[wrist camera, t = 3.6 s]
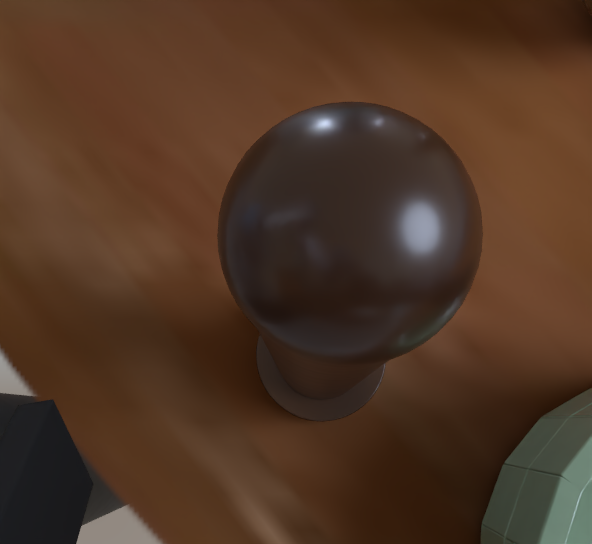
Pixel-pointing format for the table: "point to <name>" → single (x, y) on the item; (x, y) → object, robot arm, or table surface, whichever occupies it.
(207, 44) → the table surface
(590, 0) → the ceramic vessel
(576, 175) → the table surface
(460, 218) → the pestle
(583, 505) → the bowl
